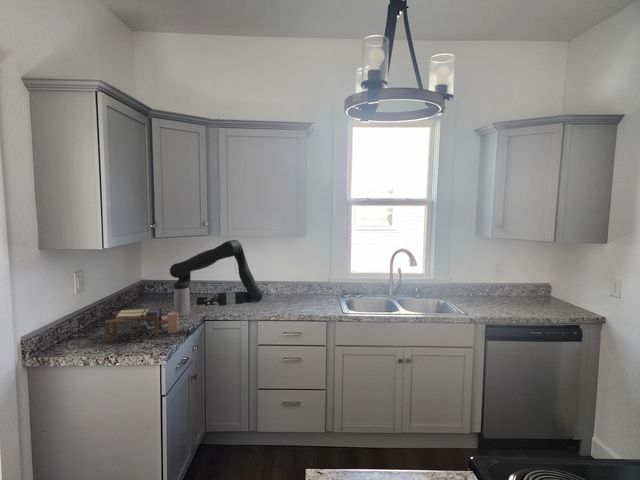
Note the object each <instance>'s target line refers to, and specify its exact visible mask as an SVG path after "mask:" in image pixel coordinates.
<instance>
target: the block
mask: <svg viewBox="0 0 640 480" xmlns="http://www.w3.org/2000/svg"><path fill="white" fill-rule="evenodd" d="M166 315H167V320H168V326H167V334H174V333H175V334H176V333H179V324H178V312H175V311H172V312H171V311H170V312H167V314H166Z"/></svg>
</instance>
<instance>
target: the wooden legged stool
mask: <svg viewBox="0 0 640 480" xmlns="http://www.w3.org/2000/svg"><path fill="white" fill-rule="evenodd" d="M120 311H121V310H119V311H118V310H117V311H112V313H111V315H112V319H105V320H104V330H105V331H104V332H105V344H107V345H108V344H110V343H111V330H110V329H111V328H110V324H112V333H113V334H118V323H125V322H126V323H127V322H139V321H147V320H151V319H154V326H155V328H154V339H156V340H157V339H159V338H160V334H159V333H160V332H159V330H162V329H163V327H162V316H163V315H162V307H160V315H159V318H158V316H149V317H135V318H123V319H116V316H117V315H118V314H119V313H120Z"/></svg>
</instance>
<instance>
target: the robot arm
mask: <svg viewBox="0 0 640 480" xmlns="http://www.w3.org/2000/svg"><path fill="white" fill-rule="evenodd" d="M231 257H234V259H235V260H236V262H237V267H238V276H239V278H240V281H241V283H242V286H243V287H244V289H246V291H226V292H225V291H224V292H223V291H222V292H218V293H217V296H216V294H214V295H213V294H211V295H204V296H200V297H199V296H198V297H196V306H206V307H209V306H216V305H217V304H218V307H223V306H224V307H225V306H234V305H241V304H255V303H260V302H261V301H262V300H263V293H262V290H261V289H260V287H259V285H258V284H257V283H256V280H255V278H254V276H253V274H252V271H251V269H250V267H249V264H248V261H247V259H246V256H245V252H244V249H243V246H242V244H241V242H240V241H239V240H236V239H231V240H227V241H225V242H223V243H222V244H219V245H218V246H216V247H213V248H212V249H211V248H210V249H208V250H205V251H202V252H200V253H197V254H196V255H193V256H192V257H190V258H188V259H186V260H183V261H181V262H176V263H174V264H172V265H171V266H170V269H169V274H170V275H171V277H172V278H175V279H177V281H175V282H174V283H173V301H174V302H173V303H174V304H173V305H174V312H178V316H179V317H185V316H188V315H190V314H191V299H190V298H191V297H190V296H191V295H190V292H191V291H190V284H191V280H192V279H191V277H192V275H191V274H192V273H191V272H194V271H197V270H198V271H200V270H203V269H206V268H209V267H210V266H212V265H214V264H215V263H216V262H218V261H220V260H223V259H226V258H227V259H228V258H231Z"/></svg>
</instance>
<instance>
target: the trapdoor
mask: <svg viewBox="0 0 640 480" xmlns="http://www.w3.org/2000/svg"><path fill="white" fill-rule="evenodd" d="M160 308H161V306H159V305H158V306H157V305H155V306H149V307H148V308H137V309H136V308H135V309H133V308H132V309H121V310H119V311H120V313H119V314H117V316H116V319H125V318H137V317H149V316H158V318H159V315H160ZM149 321H154V319H151V320H146V323H147V322H149Z"/></svg>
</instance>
